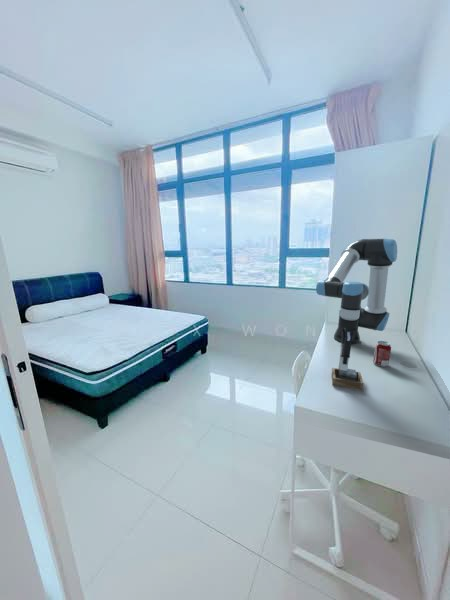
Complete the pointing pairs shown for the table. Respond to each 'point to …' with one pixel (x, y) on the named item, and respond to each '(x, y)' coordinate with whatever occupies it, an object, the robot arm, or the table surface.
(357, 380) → the wooden frame
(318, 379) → the table surface
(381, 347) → the soda can
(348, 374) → the bracket
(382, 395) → the table surface
